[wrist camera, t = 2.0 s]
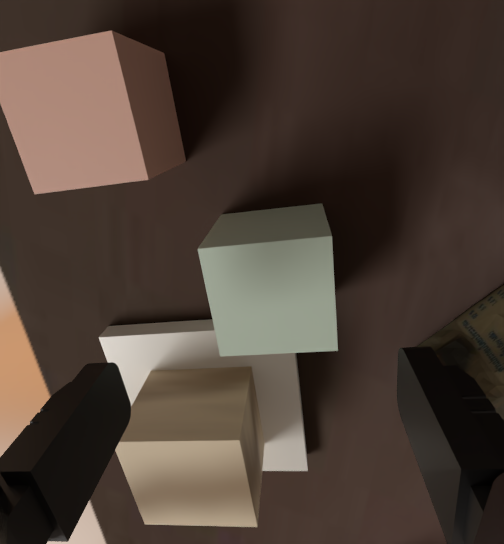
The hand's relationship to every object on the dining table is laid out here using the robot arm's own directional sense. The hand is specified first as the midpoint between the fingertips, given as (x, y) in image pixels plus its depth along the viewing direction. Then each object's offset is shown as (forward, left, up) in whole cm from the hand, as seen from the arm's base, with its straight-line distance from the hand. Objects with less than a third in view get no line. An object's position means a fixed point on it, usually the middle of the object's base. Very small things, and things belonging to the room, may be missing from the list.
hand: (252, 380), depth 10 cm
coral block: (-8, -6, -10) cm, 13 cm away
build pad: (+9, -5, -9) cm, 14 cm away
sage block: (0, 0, -10) cm, 10 cm away
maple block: (+9, -5, -8) cm, 13 cm away
